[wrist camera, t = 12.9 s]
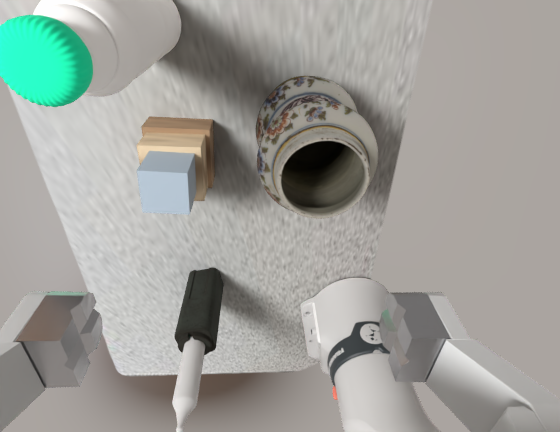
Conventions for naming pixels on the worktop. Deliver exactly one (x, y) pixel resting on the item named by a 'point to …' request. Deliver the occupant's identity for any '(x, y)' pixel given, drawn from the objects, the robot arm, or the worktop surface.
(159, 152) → the blue cube
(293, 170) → the apothecary jar
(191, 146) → the top block
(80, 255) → the worktop surface
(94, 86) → the water bottle
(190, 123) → the bottom block
